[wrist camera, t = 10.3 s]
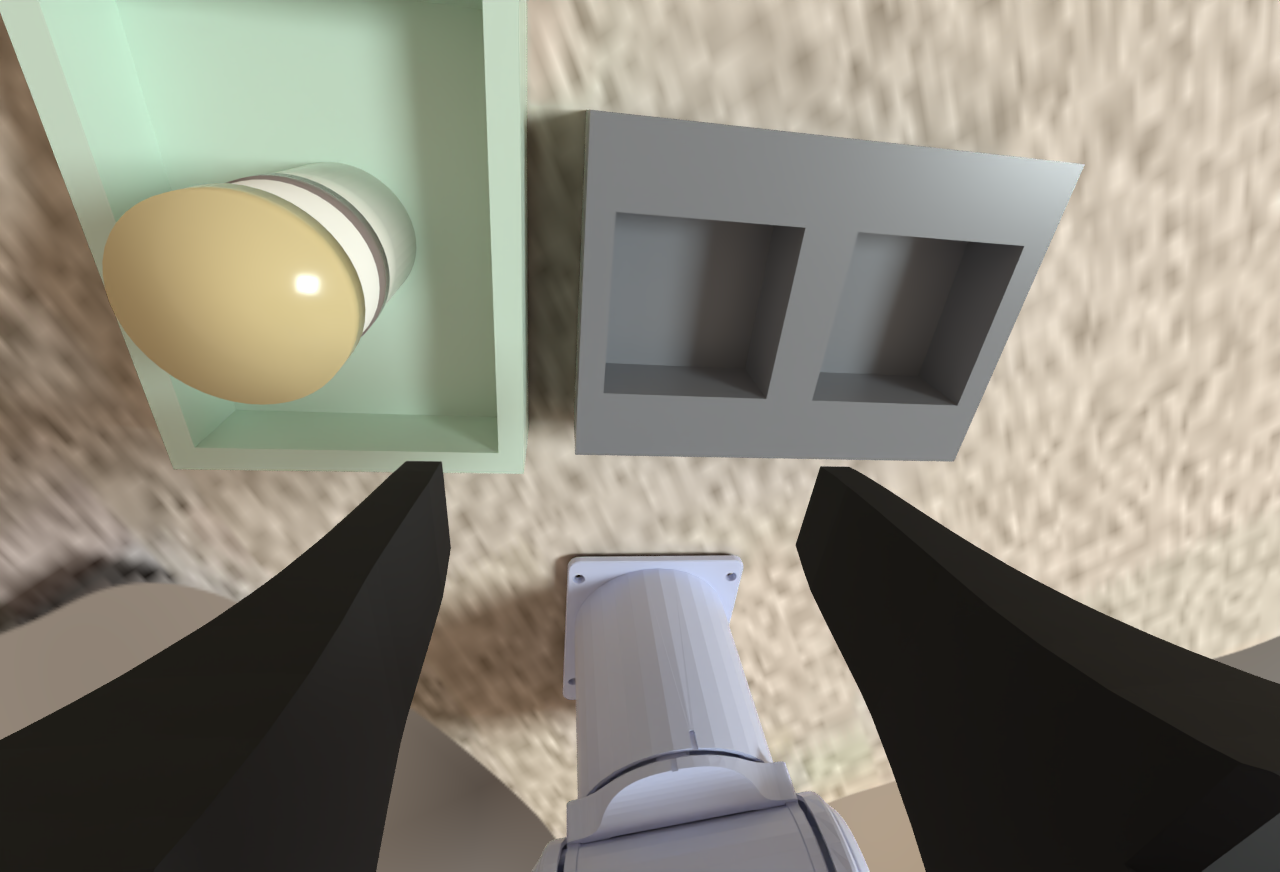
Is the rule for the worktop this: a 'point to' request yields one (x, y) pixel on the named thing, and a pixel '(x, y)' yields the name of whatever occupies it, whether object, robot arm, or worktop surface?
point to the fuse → (259, 277)
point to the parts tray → (305, 134)
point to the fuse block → (796, 289)
